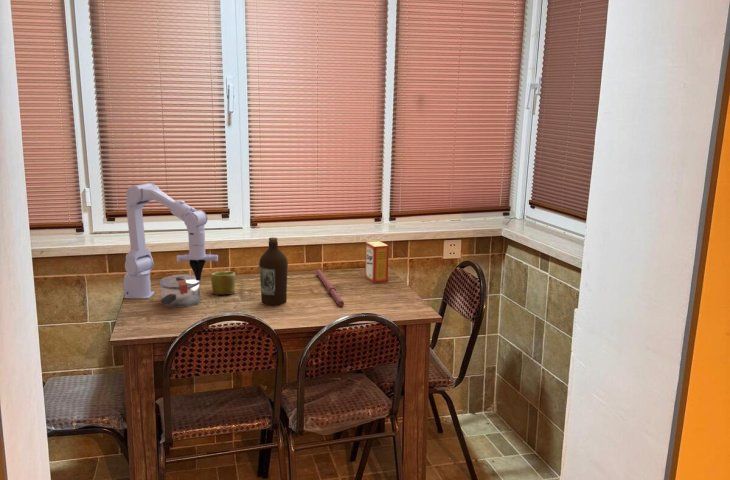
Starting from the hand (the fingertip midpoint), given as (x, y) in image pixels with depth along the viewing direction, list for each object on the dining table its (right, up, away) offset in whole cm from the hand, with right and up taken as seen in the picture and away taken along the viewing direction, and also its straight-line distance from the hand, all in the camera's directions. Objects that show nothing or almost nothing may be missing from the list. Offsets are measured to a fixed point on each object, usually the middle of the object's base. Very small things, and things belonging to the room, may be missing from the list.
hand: (198, 279), depth 236 cm
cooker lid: (-7, -2, +3) cm, 8 cm away
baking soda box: (+66, -2, +41) cm, 78 cm away
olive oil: (+27, -9, +8) cm, 29 cm away
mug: (+5, -6, +21) cm, 22 cm away
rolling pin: (+47, -6, +25) cm, 53 cm away
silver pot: (-9, -9, +5) cm, 14 cm away
